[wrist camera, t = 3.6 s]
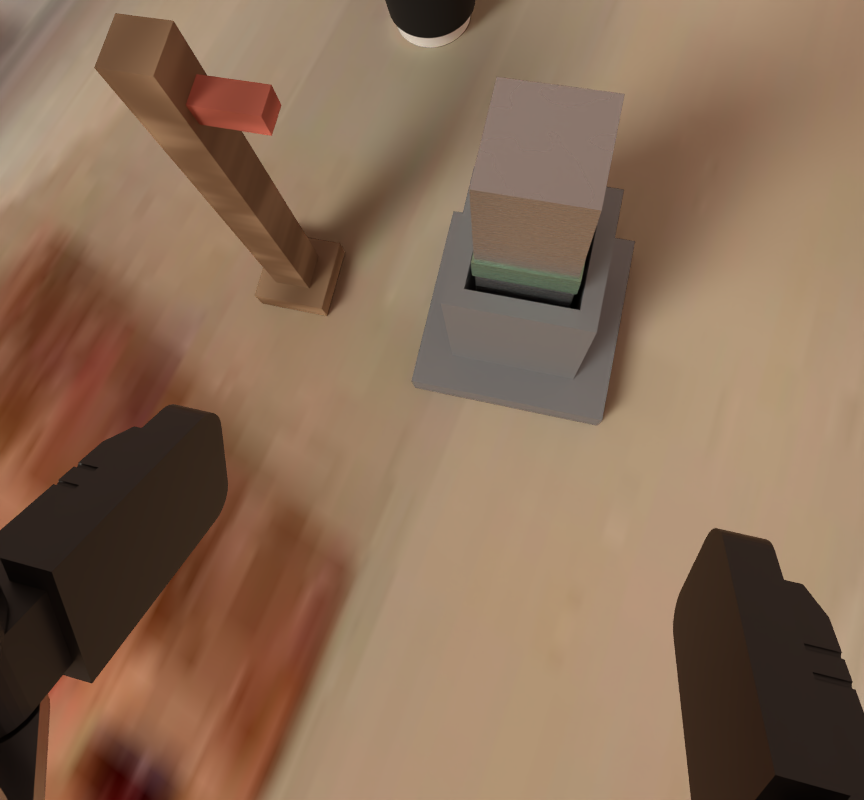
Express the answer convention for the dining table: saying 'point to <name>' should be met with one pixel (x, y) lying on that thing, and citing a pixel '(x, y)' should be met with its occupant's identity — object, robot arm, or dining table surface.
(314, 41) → the dining table surface
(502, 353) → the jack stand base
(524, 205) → the steel column
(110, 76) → the height gauge
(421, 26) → the dixie cup
